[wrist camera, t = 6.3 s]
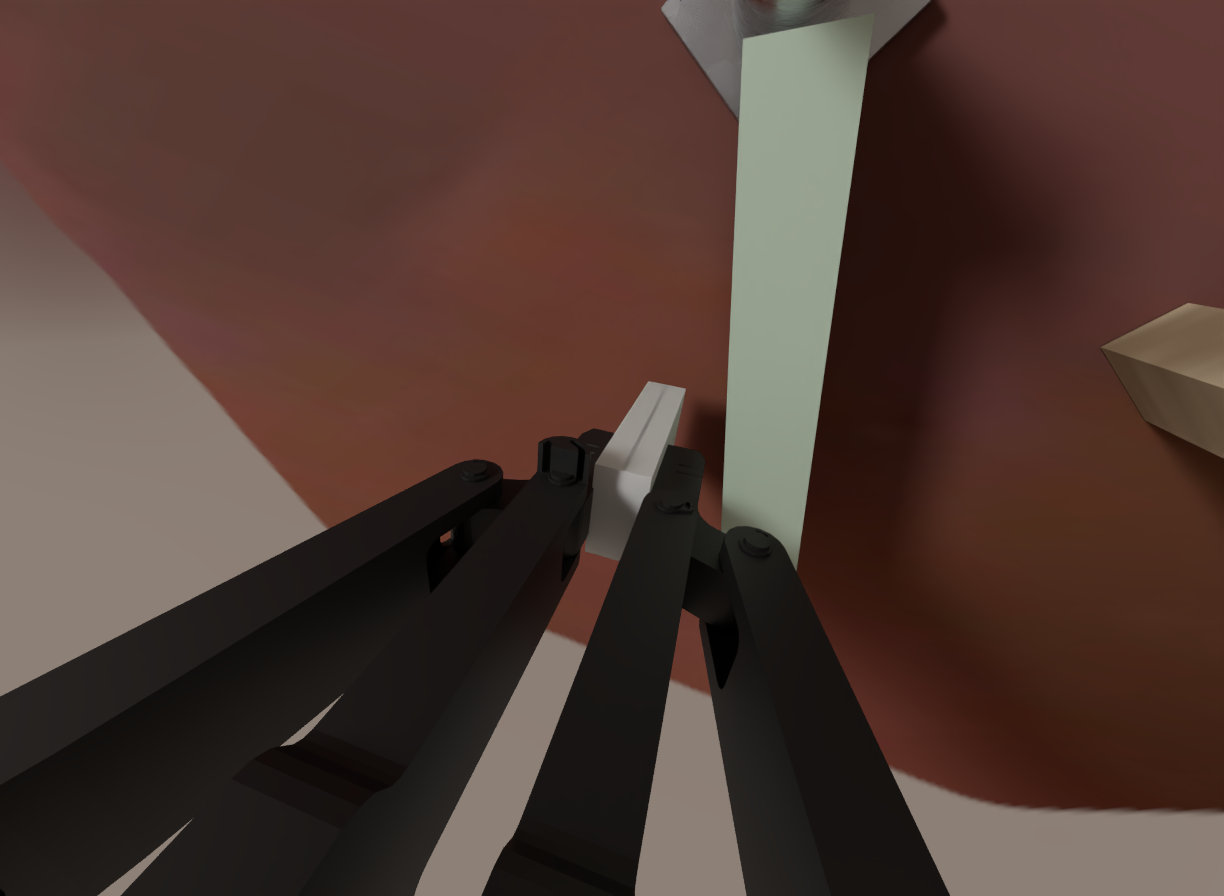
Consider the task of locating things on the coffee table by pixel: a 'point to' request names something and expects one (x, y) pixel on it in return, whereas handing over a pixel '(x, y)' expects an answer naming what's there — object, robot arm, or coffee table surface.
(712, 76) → the hinge post
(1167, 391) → the block
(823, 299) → the gate
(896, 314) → the coffee table surface
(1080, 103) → the coffee table surface
